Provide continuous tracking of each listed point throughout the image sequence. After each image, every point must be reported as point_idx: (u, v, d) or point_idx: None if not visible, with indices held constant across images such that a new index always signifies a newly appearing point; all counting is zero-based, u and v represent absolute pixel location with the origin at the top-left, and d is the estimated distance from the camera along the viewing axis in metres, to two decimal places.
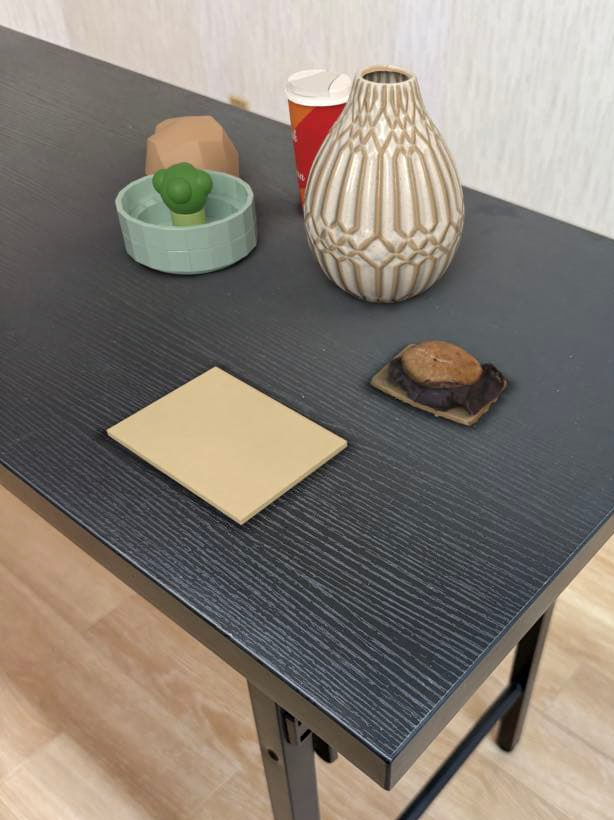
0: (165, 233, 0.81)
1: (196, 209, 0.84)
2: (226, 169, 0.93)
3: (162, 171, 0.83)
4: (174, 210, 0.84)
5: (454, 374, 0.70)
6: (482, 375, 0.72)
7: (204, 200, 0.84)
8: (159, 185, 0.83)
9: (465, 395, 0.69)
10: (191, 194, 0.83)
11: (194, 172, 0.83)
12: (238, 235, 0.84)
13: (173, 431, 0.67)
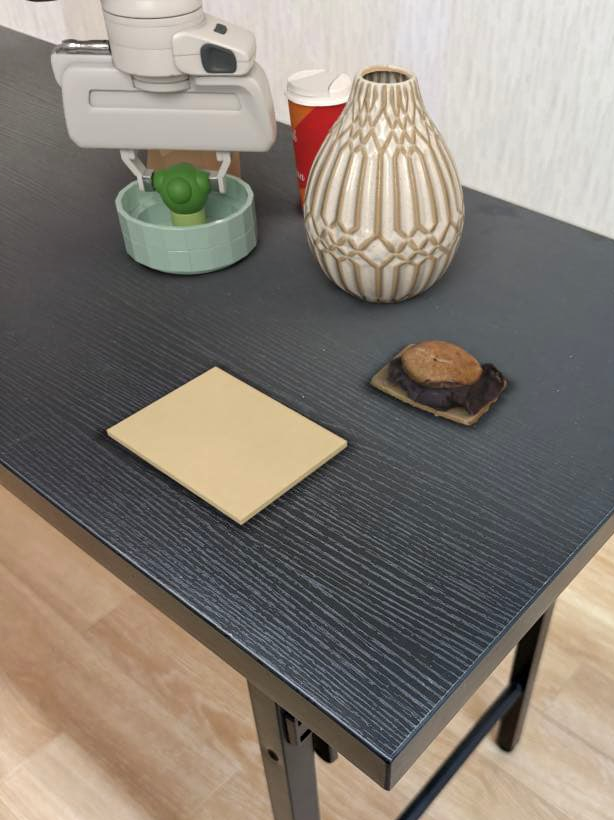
0: (165, 233, 0.81)
1: (196, 209, 0.84)
2: (228, 168, 0.93)
3: (162, 171, 0.83)
4: (174, 210, 0.84)
5: (454, 374, 0.70)
6: (482, 375, 0.72)
7: (204, 200, 0.84)
8: (159, 185, 0.83)
9: (465, 395, 0.69)
10: (191, 194, 0.83)
11: (194, 172, 0.83)
12: (238, 235, 0.84)
13: (173, 431, 0.67)
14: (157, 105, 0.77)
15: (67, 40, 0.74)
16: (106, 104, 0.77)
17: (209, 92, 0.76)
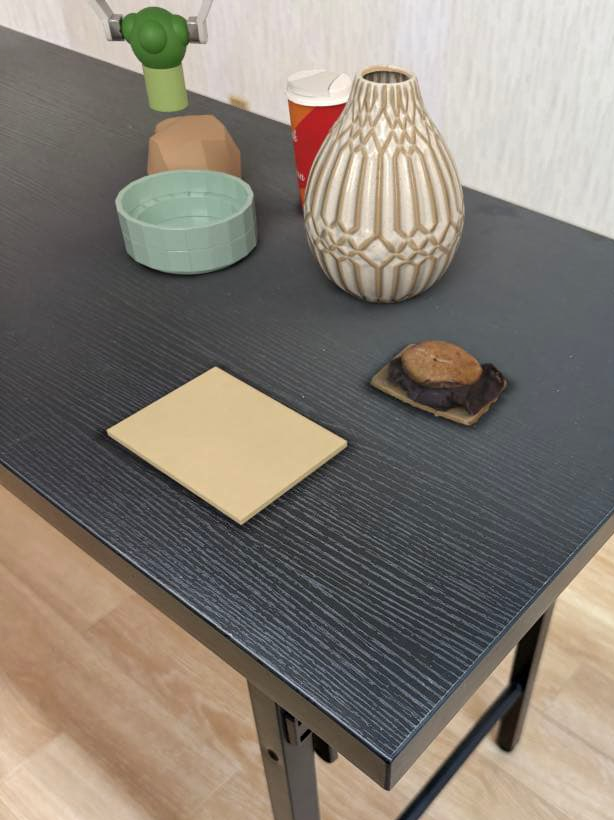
0: (165, 233, 0.81)
1: (172, 62, 0.73)
2: (229, 168, 0.93)
3: (132, 14, 0.71)
4: (147, 63, 0.72)
5: (454, 374, 0.70)
6: (482, 375, 0.72)
7: (182, 52, 0.73)
8: (129, 31, 0.71)
9: (465, 395, 0.69)
10: (166, 41, 0.71)
11: (170, 16, 0.71)
12: (238, 235, 0.84)
13: (173, 431, 0.67)
14: None
15: None
16: None
17: None
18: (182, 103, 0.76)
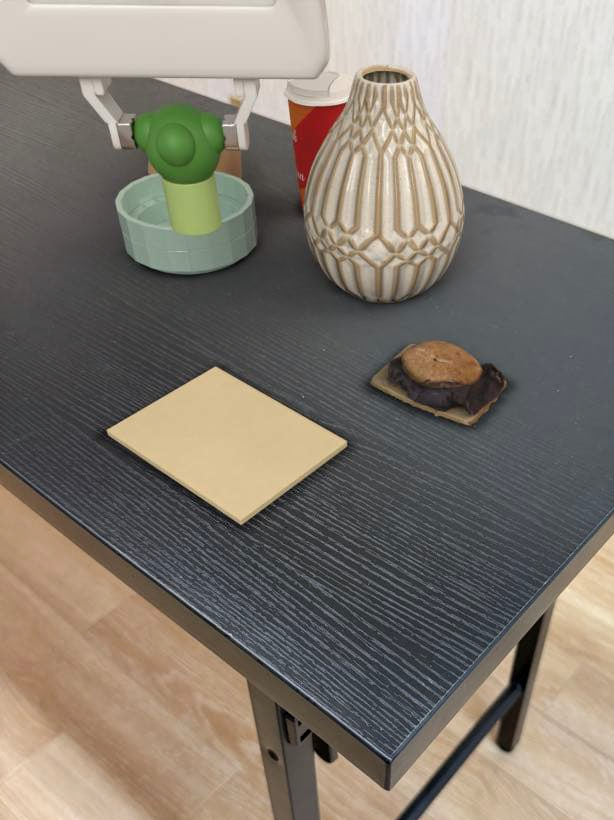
0: (165, 233, 0.81)
1: (203, 175, 0.54)
2: (230, 168, 0.93)
3: (148, 115, 0.52)
4: (168, 177, 0.54)
5: (454, 374, 0.70)
6: (482, 375, 0.72)
7: (215, 161, 0.54)
8: (144, 137, 0.52)
9: (465, 395, 0.69)
10: (195, 151, 0.52)
11: (199, 116, 0.52)
12: (238, 235, 0.84)
13: (173, 431, 0.67)
14: None
15: None
16: None
17: None
18: (214, 223, 0.57)
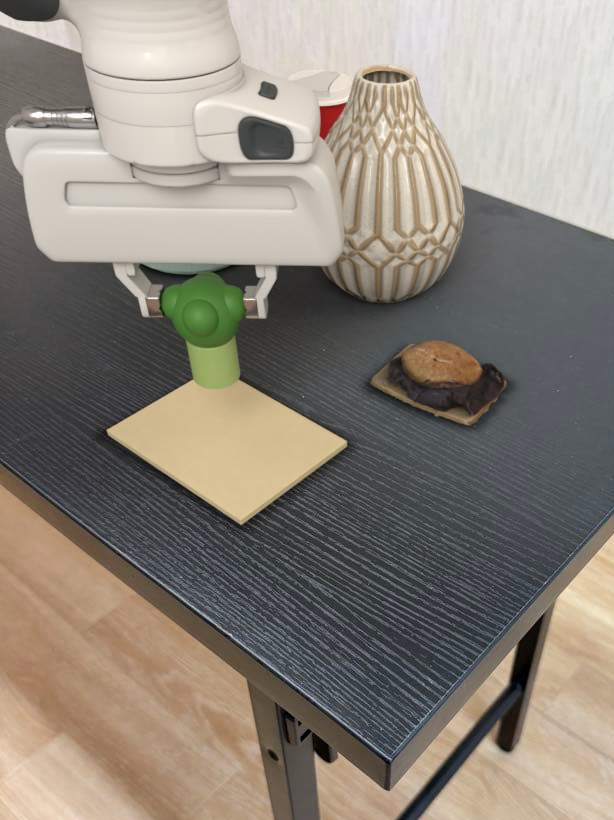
0: None
1: (224, 341, 0.58)
2: None
3: (175, 289, 0.56)
4: (192, 343, 0.58)
5: (454, 374, 0.70)
6: (482, 375, 0.72)
7: (236, 328, 0.58)
8: (171, 309, 0.57)
9: (465, 395, 0.69)
10: (218, 323, 0.56)
11: (222, 290, 0.56)
12: None
13: (173, 431, 0.67)
14: (169, 202, 0.51)
15: (30, 108, 0.48)
16: (92, 201, 0.51)
17: (249, 184, 0.50)
18: (234, 377, 0.61)
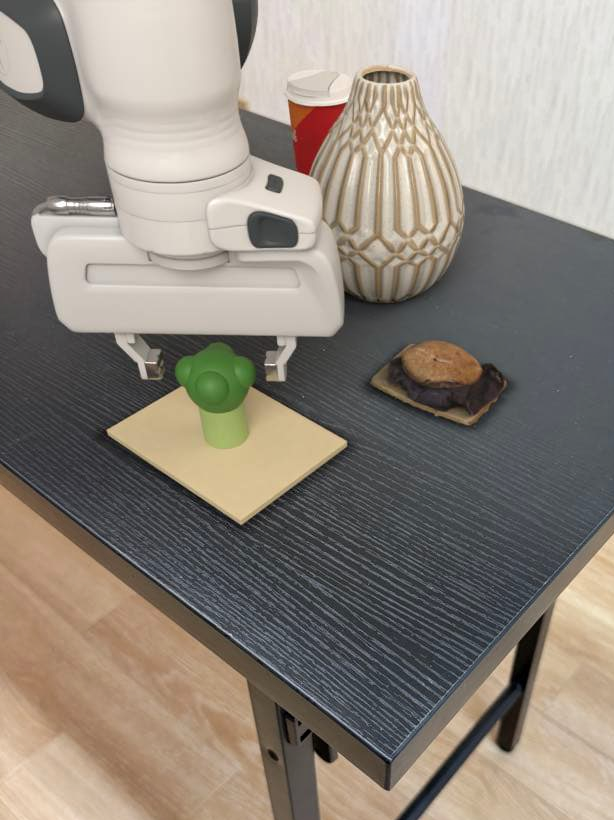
0: None
1: (234, 407, 0.63)
2: None
3: (188, 360, 0.61)
4: (204, 409, 0.62)
5: (454, 374, 0.70)
6: (482, 375, 0.72)
7: (245, 395, 0.62)
8: (184, 379, 0.61)
9: (465, 395, 0.69)
10: (228, 392, 0.61)
11: (232, 362, 0.61)
12: None
13: (173, 431, 0.67)
14: (182, 281, 0.55)
15: (54, 198, 0.52)
16: (110, 280, 0.54)
17: (256, 266, 0.54)
18: (242, 437, 0.66)
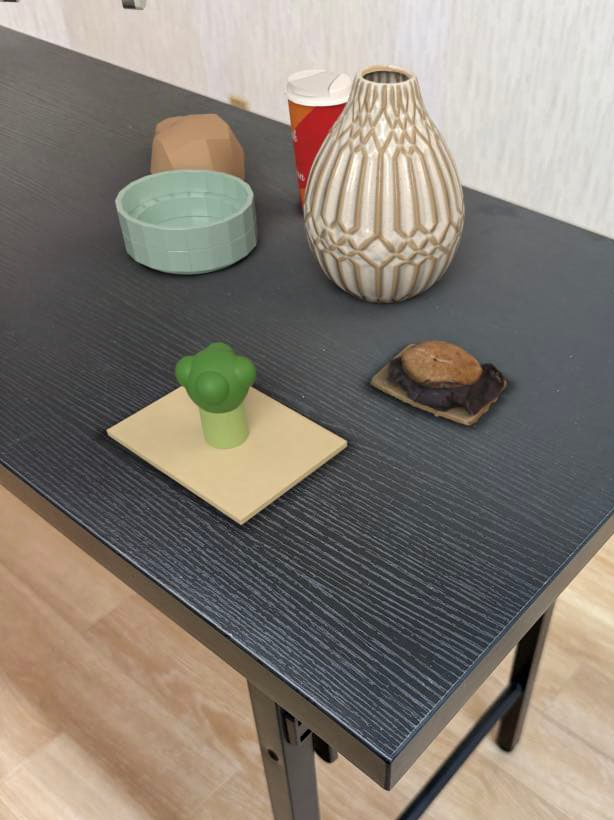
0: (165, 233, 0.81)
1: (234, 407, 0.63)
2: (233, 167, 0.93)
3: (188, 360, 0.61)
4: (204, 409, 0.62)
5: (454, 374, 0.70)
6: (482, 375, 0.72)
7: (245, 395, 0.62)
8: (184, 379, 0.61)
9: (465, 395, 0.69)
10: (228, 392, 0.61)
11: (232, 362, 0.61)
12: (238, 235, 0.84)
13: (173, 431, 0.67)
14: None
15: None
16: None
17: None
18: (242, 437, 0.66)
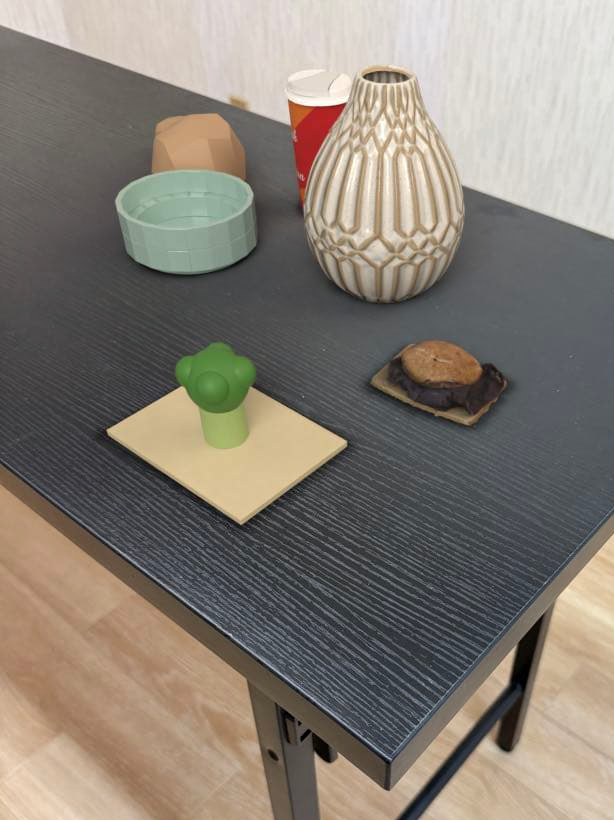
0: (165, 233, 0.81)
1: (234, 407, 0.63)
2: (234, 166, 0.93)
3: (188, 360, 0.61)
4: (204, 409, 0.62)
5: (454, 374, 0.70)
6: (482, 375, 0.72)
7: (245, 395, 0.62)
8: (184, 379, 0.61)
9: (465, 395, 0.69)
10: (228, 392, 0.61)
11: (232, 362, 0.61)
12: (238, 235, 0.84)
13: (173, 431, 0.67)
14: None
15: None
16: None
17: None
18: (242, 437, 0.66)
